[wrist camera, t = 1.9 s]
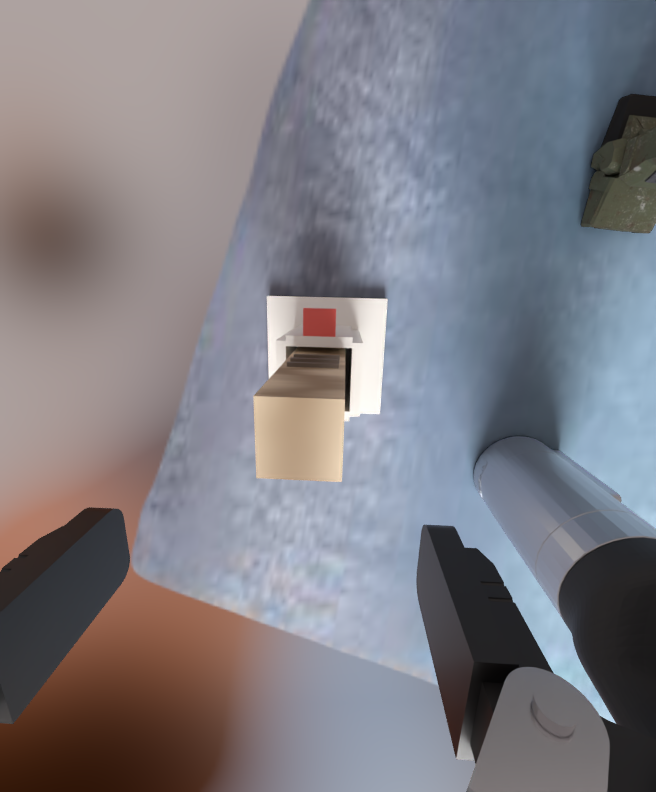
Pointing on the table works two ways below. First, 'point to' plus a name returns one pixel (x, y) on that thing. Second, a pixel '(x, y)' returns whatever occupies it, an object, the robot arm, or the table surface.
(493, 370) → the table surface
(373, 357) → the sleeve stand
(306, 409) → the post
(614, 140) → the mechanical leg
